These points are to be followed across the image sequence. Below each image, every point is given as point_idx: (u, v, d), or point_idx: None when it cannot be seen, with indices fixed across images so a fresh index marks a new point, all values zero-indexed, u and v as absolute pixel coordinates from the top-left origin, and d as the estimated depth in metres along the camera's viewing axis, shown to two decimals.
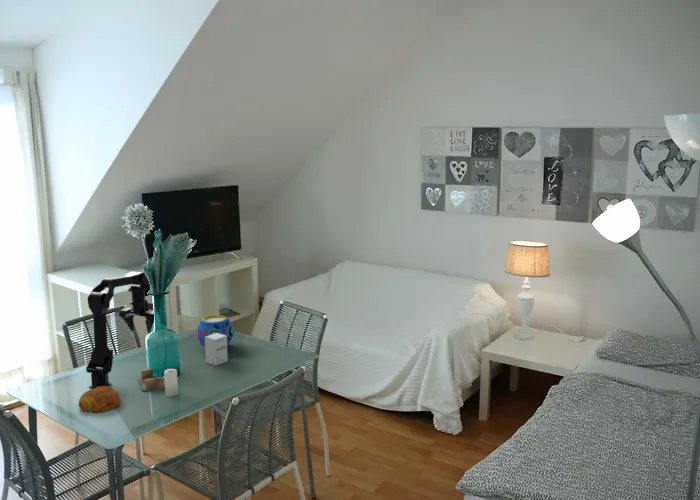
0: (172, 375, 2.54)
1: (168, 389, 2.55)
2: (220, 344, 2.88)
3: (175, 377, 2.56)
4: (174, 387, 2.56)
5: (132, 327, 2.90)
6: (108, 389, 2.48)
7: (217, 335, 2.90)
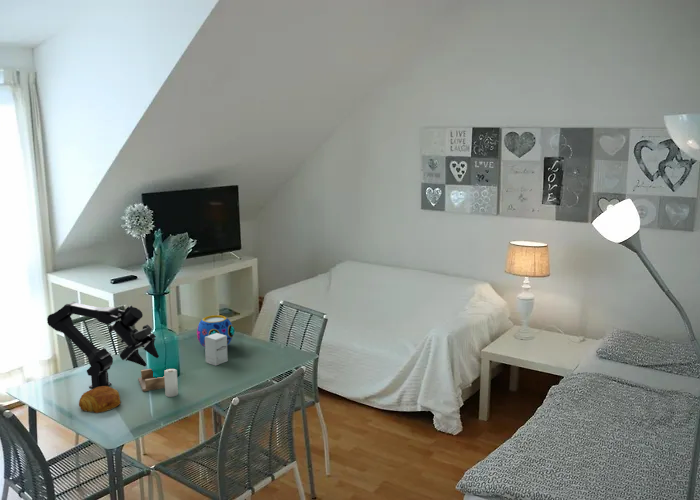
0: (172, 375, 2.54)
1: (168, 389, 2.55)
2: (220, 344, 2.88)
3: (175, 377, 2.56)
4: (174, 387, 2.56)
5: (155, 354, 2.62)
6: (108, 389, 2.48)
7: (217, 335, 2.90)
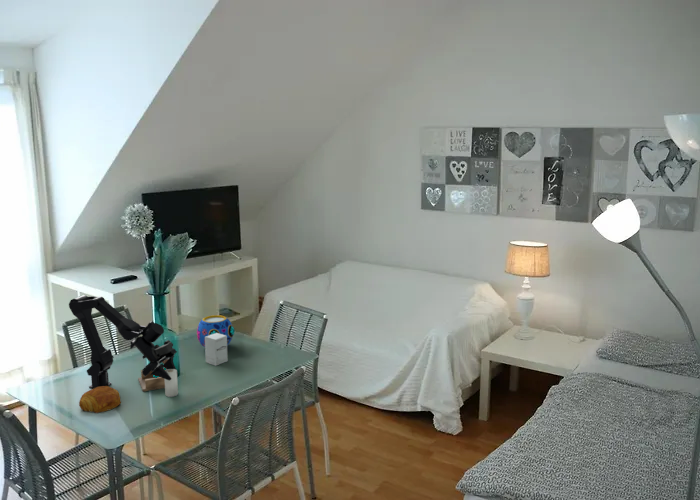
0: (172, 375, 2.54)
1: (168, 389, 2.55)
2: (220, 344, 2.88)
3: (175, 377, 2.56)
4: (174, 387, 2.56)
5: None
6: (108, 389, 2.48)
7: (217, 335, 2.90)
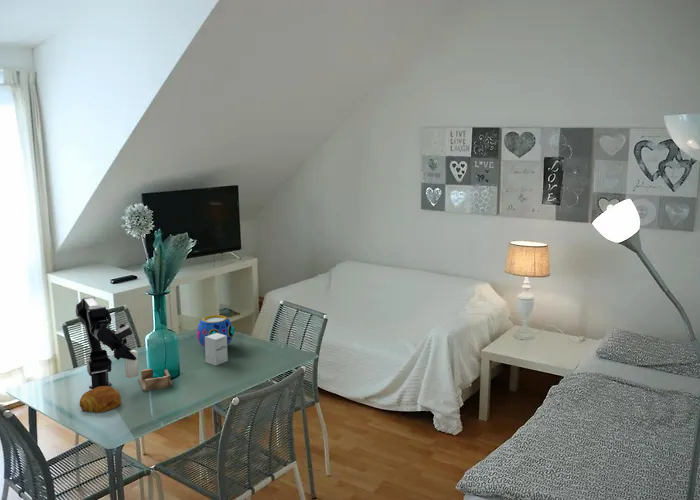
0: (136, 355, 2.61)
1: (132, 370, 2.60)
2: (220, 344, 2.88)
3: (137, 357, 2.62)
4: (137, 367, 2.62)
5: None
6: (109, 389, 2.48)
7: (217, 335, 2.90)
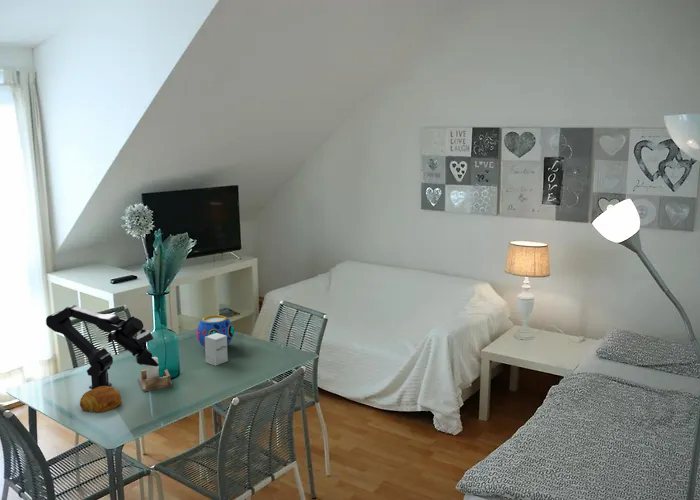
0: (156, 361, 2.66)
1: (154, 376, 2.66)
2: (220, 344, 2.88)
3: None
4: (158, 373, 2.67)
5: (151, 355, 2.70)
6: (109, 389, 2.48)
7: (217, 335, 2.90)
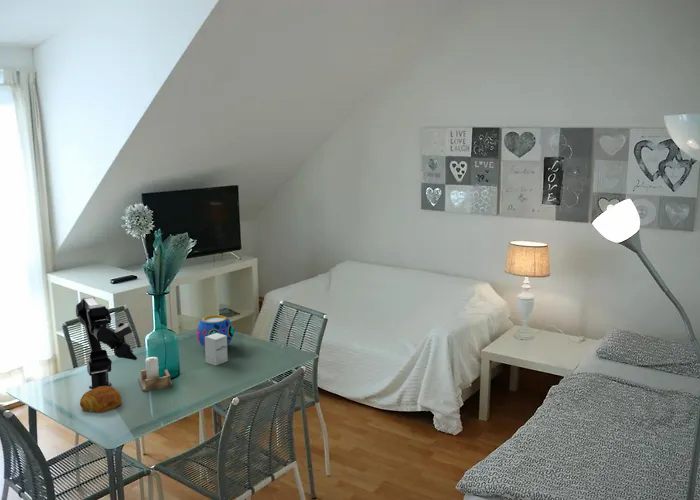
0: (156, 361, 2.66)
1: (154, 376, 2.66)
2: (220, 344, 2.88)
3: None
4: (158, 373, 2.67)
5: None
6: (109, 389, 2.48)
7: (217, 335, 2.90)
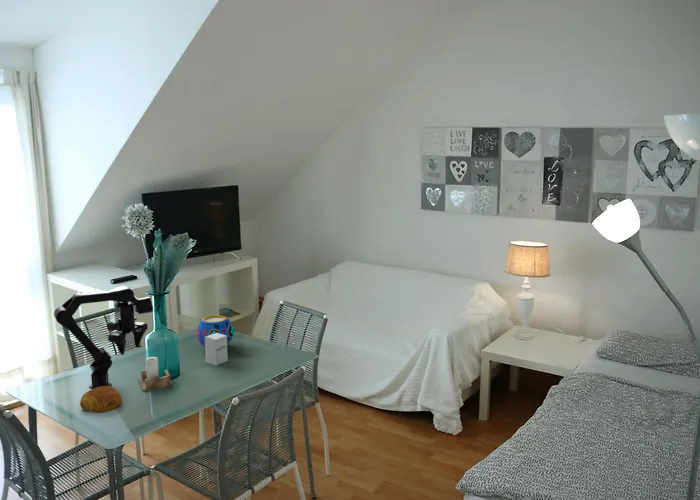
0: (156, 361, 2.66)
1: (154, 376, 2.65)
2: (220, 344, 2.88)
3: None
4: (158, 373, 2.67)
5: None
6: (109, 389, 2.48)
7: (217, 335, 2.90)
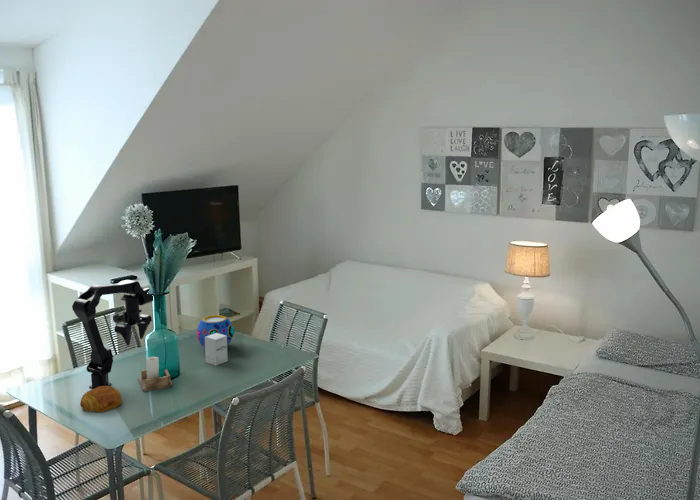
0: (157, 361, 2.66)
1: (154, 376, 2.66)
2: (220, 344, 2.88)
3: (158, 363, 2.67)
4: (158, 373, 2.67)
5: None
6: (110, 389, 2.48)
7: (217, 335, 2.90)
